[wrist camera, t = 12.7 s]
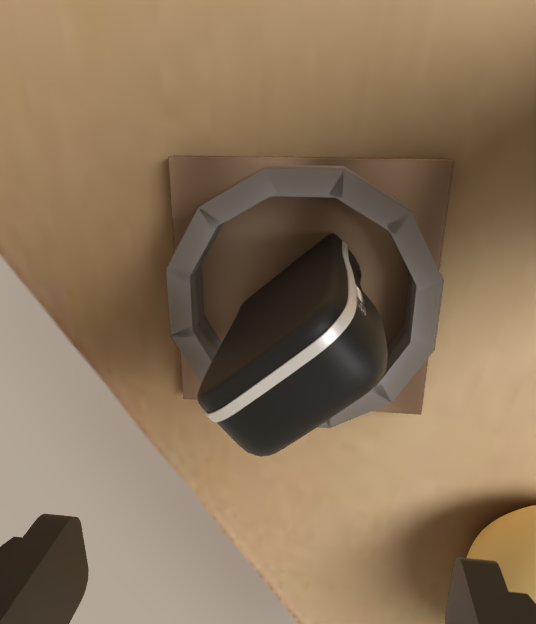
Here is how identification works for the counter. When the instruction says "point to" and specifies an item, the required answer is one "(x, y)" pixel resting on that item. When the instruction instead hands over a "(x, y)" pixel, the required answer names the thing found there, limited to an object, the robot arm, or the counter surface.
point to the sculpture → (511, 549)
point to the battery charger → (296, 352)
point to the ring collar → (298, 240)
